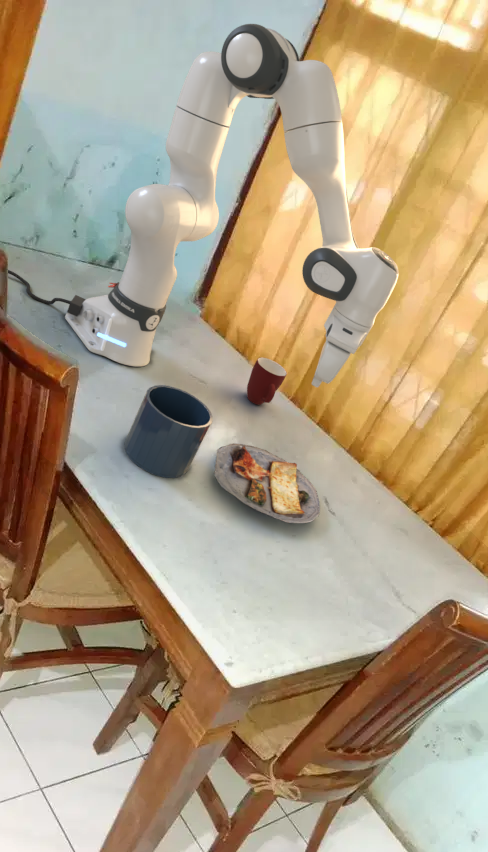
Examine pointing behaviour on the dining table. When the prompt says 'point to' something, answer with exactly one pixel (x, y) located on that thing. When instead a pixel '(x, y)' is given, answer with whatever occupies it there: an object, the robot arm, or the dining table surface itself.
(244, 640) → the dining table surface
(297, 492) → the food plate
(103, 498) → the dining table surface
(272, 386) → the mug
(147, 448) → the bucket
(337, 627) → the dining table surface
